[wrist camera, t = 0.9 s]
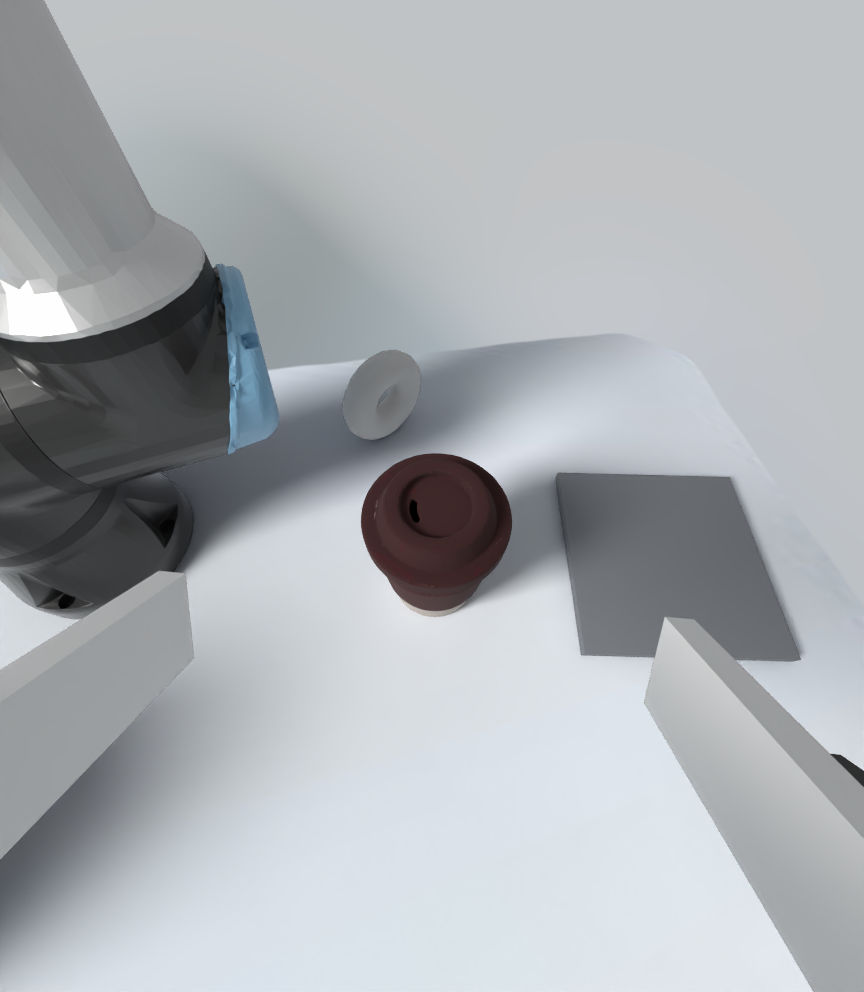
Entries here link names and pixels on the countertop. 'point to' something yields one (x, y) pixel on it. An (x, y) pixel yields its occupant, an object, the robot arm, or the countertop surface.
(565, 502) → the mat
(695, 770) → the robot arm
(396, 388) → the donut
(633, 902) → the countertop surface
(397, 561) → the coffee cup
